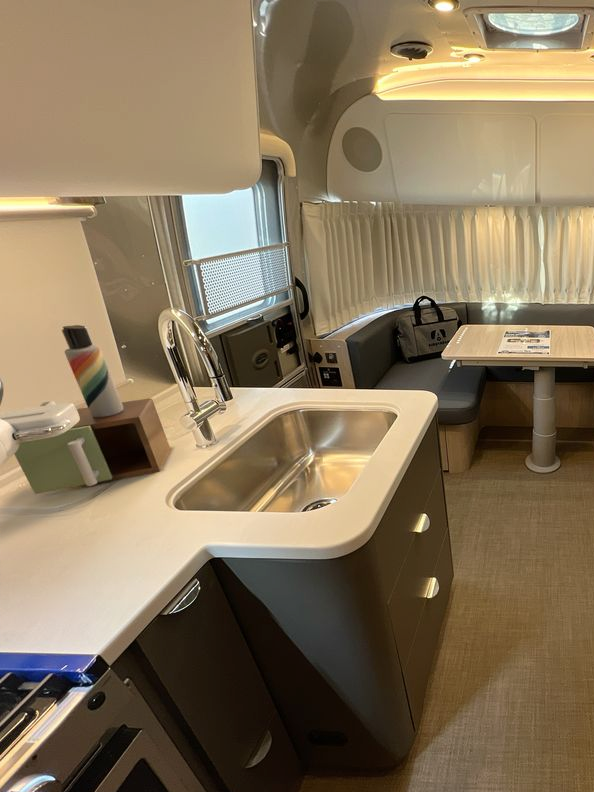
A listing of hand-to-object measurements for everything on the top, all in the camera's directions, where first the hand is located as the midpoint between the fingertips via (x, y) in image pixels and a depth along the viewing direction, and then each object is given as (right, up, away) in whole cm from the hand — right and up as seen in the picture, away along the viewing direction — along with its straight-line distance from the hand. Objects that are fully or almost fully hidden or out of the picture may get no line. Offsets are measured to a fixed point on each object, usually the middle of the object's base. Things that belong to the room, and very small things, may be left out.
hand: (16, 410), depth 87 cm
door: (-6, -17, +17) cm, 25 cm away
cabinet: (-3, -14, +28) cm, 31 cm away
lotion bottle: (-3, -1, +22) cm, 22 cm away
